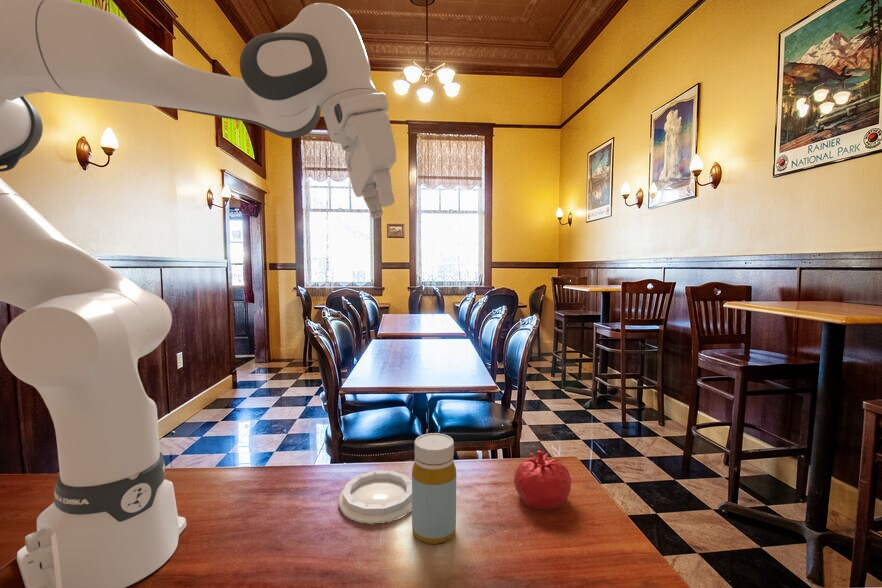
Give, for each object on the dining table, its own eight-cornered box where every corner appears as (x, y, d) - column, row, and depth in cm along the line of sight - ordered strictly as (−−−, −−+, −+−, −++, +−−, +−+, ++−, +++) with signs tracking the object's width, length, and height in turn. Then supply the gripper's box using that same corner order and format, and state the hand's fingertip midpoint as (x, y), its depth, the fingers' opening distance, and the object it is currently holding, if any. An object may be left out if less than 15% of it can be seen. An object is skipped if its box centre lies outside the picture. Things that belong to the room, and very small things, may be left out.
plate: (322, 509, 73) (321, 497, 73) (371, 472, 85) (371, 462, 85) (388, 534, 66) (388, 521, 66) (431, 490, 79) (431, 479, 78)
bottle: (451, 549, 63) (452, 453, 62) (406, 542, 64) (406, 449, 63) (458, 520, 70) (459, 433, 68) (418, 515, 71) (418, 430, 70)
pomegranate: (578, 516, 71) (581, 465, 70) (520, 517, 71) (522, 465, 70) (559, 483, 81) (561, 438, 80) (508, 484, 81) (509, 438, 80)
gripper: (331, 148, 72) (355, 226, 73) (340, 95, 52) (372, 202, 54) (366, 142, 74) (389, 218, 75) (388, 87, 54) (418, 191, 56)
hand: (382, 211), depth 64 cm, fingers open, 8 cm apart
